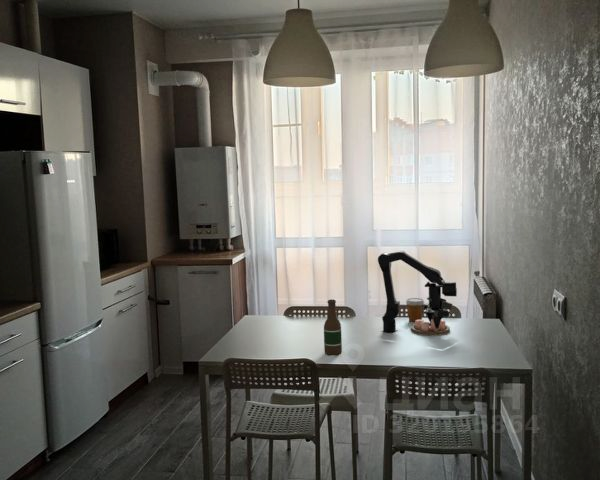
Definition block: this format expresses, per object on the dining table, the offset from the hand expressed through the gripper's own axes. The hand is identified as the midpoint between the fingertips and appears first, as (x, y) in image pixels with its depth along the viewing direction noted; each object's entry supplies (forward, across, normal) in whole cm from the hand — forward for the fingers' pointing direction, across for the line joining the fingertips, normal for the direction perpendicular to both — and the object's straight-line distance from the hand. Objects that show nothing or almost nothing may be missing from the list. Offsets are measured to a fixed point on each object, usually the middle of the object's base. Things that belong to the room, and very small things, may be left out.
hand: (435, 327), depth 292 cm
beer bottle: (+4, -13, +56) cm, 57 cm away
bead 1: (+1, 0, 0) cm, 1 cm away
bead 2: (+3, +2, -4) cm, 6 cm away
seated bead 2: (+3, +2, +4) cm, 6 cm away
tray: (+3, +5, 0) cm, 6 cm away
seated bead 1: (+3, +7, +5) cm, 9 cm away
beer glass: (+4, +26, -2) cm, 26 cm away
